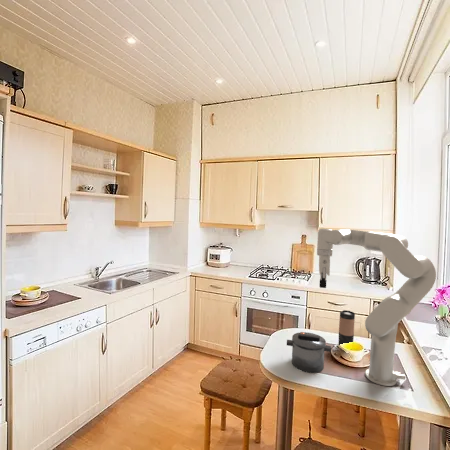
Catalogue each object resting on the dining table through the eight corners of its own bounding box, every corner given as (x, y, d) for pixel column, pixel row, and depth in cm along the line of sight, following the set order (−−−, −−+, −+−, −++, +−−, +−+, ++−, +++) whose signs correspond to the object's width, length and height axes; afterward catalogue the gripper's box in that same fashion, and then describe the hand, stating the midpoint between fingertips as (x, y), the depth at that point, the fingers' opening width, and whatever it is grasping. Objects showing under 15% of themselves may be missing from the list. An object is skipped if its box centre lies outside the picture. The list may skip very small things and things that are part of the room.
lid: (324, 337, 151) (324, 331, 150) (326, 352, 135) (326, 345, 135) (293, 332, 155) (293, 326, 155) (291, 346, 139) (291, 340, 139)
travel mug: (354, 352, 159) (356, 315, 157) (339, 350, 160) (341, 314, 159) (351, 345, 166) (353, 310, 165) (336, 344, 168) (338, 309, 166)
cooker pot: (328, 358, 151) (329, 337, 150) (330, 376, 135) (332, 353, 134) (287, 352, 157) (288, 332, 156) (284, 368, 141) (285, 346, 140)
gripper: (333, 255, 146) (331, 292, 147) (331, 251, 160) (329, 284, 161) (317, 254, 148) (315, 290, 149) (316, 250, 162) (314, 283, 163)
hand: (322, 287), depth 155 cm, fingers closed
